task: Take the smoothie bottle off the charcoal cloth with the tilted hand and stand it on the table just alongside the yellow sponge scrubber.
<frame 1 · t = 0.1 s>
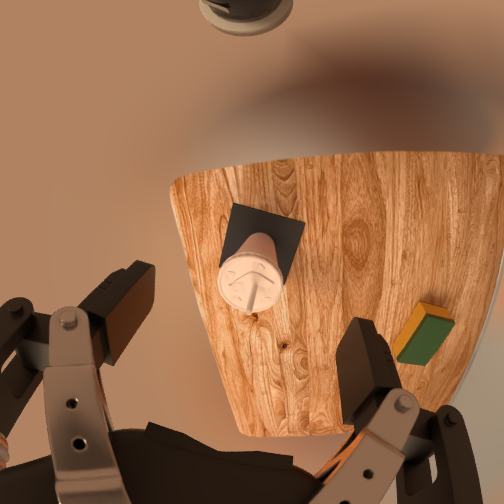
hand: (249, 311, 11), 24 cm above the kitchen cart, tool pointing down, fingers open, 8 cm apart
scrubber: (419, 327, 38), on the kitchen cart
cloth: (260, 245, 36), on the kitchen cart
smoothie: (260, 245, 36), resting on cloth
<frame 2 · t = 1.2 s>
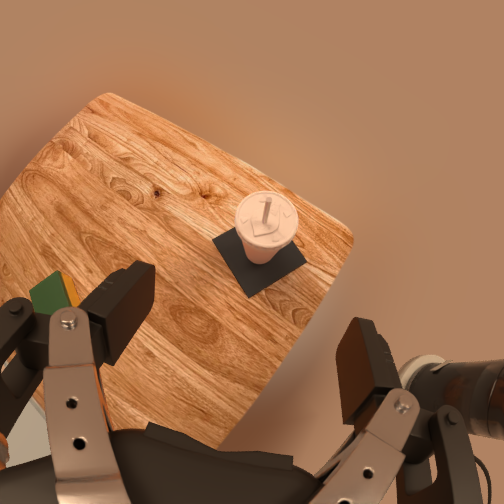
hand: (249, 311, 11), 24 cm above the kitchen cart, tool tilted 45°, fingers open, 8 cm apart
scrubber: (66, 314, 32), on the kitchen cart
cloth: (259, 250, 37), on the kitchen cart
smoothie: (259, 250, 37), resting on cloth
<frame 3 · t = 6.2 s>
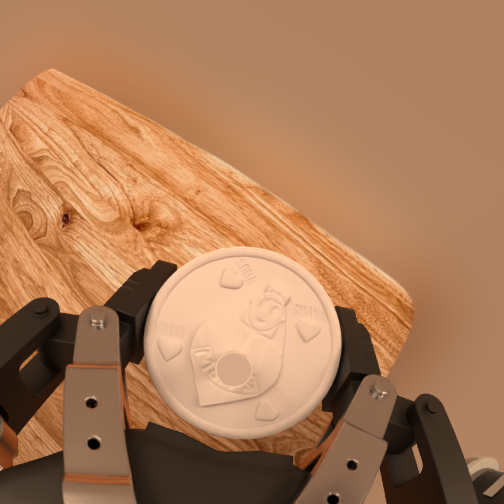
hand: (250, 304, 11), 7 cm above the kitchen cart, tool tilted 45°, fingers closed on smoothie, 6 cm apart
smoothie: (238, 345, 17), resting on cloth, touching gripper
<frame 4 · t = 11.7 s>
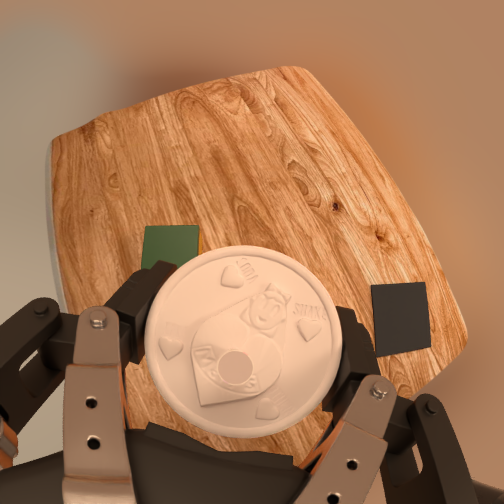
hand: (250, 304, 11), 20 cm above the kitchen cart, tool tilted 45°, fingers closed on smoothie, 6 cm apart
scrubber: (175, 275, 32), on the kitchen cart
cloth: (402, 317, 32), on the kitchen cart
smoothie: (238, 345, 17), point 13 cm above the kitchen cart, touching gripper
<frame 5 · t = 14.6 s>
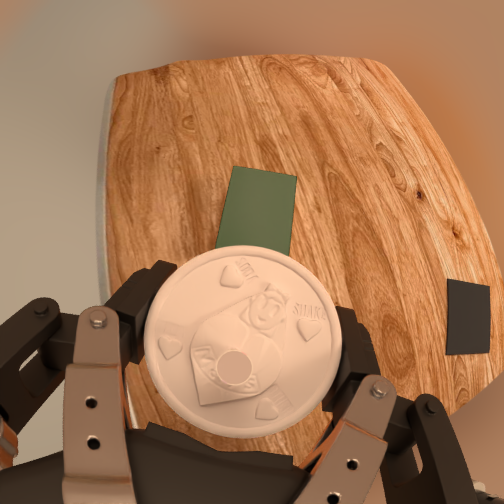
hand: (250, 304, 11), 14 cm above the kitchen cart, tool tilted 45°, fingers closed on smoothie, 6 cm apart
scrubber: (255, 230, 28), on the kitchen cart
cloth: (470, 317, 26), on the kitchen cart
smoothie: (238, 345, 17), point 7 cm above the kitchen cart, touching gripper
when the fingers open (7 cm above the kitchen cart, at t = 17.2 s): smoothie stays where it is, on the kitchen cart.
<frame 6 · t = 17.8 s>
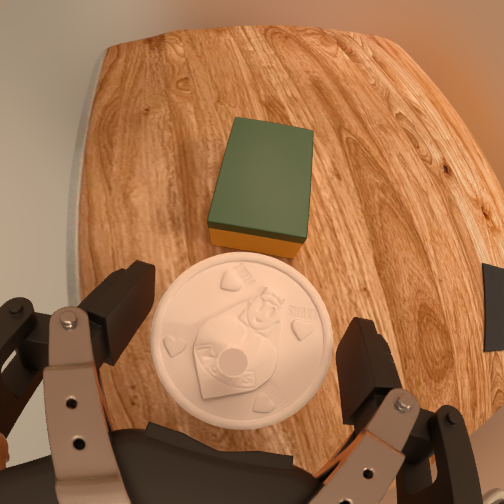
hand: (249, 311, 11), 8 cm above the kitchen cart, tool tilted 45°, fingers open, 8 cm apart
scrubber: (261, 198, 22), on the kitchen cart
smoothie: (237, 343, 18), on the kitchen cart
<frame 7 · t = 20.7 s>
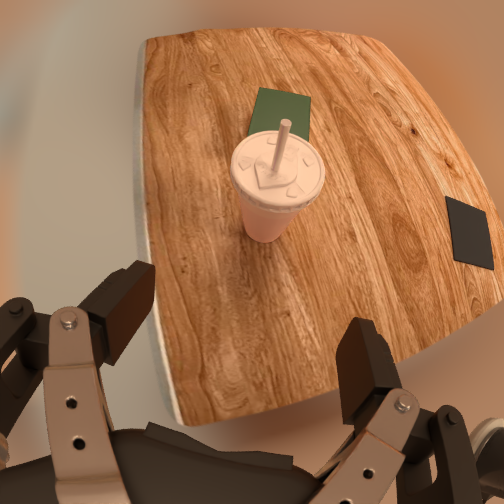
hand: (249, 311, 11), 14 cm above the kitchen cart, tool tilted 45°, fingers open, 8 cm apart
scrubber: (276, 139, 31), on the kitchen cart
cloth: (471, 233, 29), on the kitchen cart
smoothie: (263, 225, 27), on the kitchen cart
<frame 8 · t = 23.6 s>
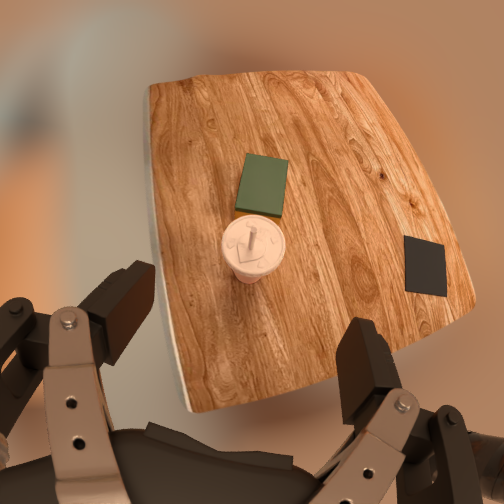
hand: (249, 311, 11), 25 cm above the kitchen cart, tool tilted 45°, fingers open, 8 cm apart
scrubber: (260, 197, 40), on the kitchen cart
cloth: (426, 266, 39), on the kitchen cart
smoothie: (248, 270, 37), on the kitchen cart
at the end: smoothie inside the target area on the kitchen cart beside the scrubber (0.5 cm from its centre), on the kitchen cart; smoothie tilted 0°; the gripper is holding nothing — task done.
